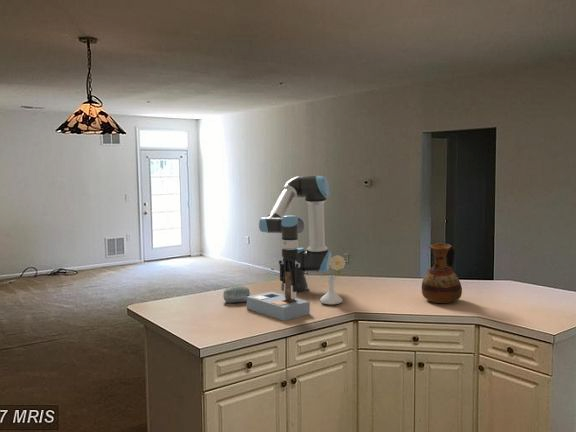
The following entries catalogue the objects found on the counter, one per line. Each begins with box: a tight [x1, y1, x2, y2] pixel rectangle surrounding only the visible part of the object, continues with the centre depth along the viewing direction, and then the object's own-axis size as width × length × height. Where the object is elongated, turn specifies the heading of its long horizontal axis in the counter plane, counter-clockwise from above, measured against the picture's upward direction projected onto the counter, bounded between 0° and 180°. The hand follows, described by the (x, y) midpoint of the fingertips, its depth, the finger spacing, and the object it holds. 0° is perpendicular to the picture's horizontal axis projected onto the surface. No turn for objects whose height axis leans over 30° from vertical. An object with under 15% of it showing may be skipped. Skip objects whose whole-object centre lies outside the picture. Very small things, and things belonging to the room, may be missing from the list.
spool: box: [222, 285, 251, 304], centre depth 264 cm, size 14×10×10 cm
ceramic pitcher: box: [421, 242, 463, 304], centre depth 263 cm, size 20×20×30 cm
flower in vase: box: [319, 254, 346, 305], centre depth 259 cm, size 13×11×25 cm
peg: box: [285, 271, 295, 303], centre depth 241 cm, size 4×4×16 cm
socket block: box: [246, 291, 311, 322], centre depth 246 cm, size 28×16×6 cm, turn 41°
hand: (290, 297), depth 241 cm, fingers closed on peg, 4 cm apart
